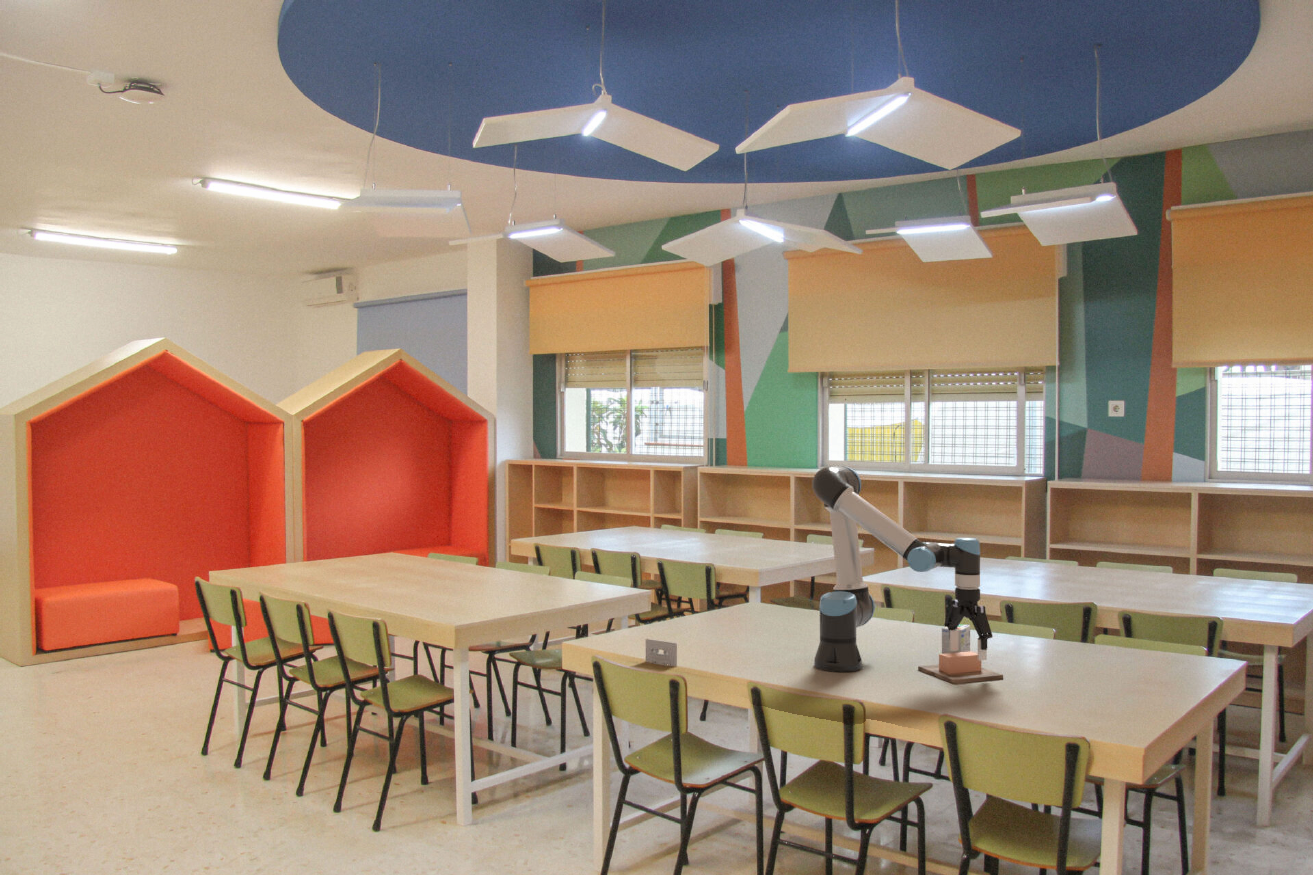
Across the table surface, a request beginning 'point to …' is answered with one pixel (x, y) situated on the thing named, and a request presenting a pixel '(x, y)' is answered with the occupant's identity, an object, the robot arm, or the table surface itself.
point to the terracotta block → (959, 662)
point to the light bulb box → (962, 639)
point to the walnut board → (961, 674)
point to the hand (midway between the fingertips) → (967, 655)
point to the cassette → (661, 658)
